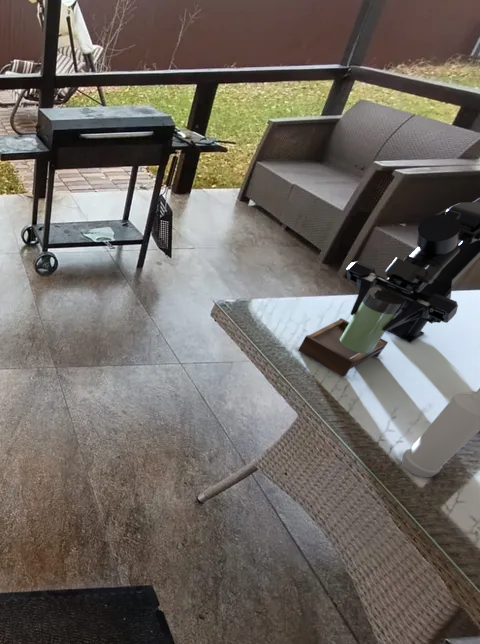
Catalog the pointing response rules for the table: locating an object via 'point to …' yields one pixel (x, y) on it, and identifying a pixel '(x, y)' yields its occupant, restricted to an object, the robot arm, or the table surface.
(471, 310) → the table surface
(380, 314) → the spice jar
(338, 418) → the table surface
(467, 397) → the bottle
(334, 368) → the wooden tray
